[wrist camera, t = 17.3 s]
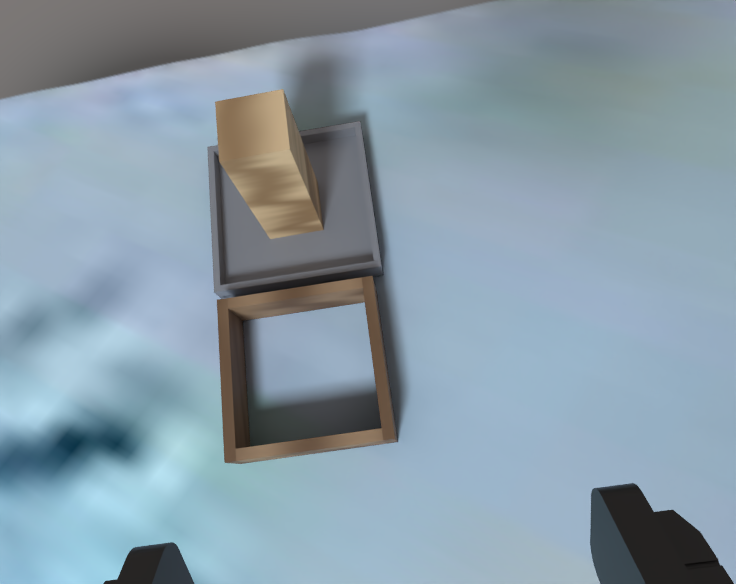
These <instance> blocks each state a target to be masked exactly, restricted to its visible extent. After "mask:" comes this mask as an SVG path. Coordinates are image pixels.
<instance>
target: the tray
mask: <svg viewBox="0 0 736 584" xmlns="http://www.w3.org/2000/svg"><path fill="white" fill-rule="evenodd" d="M299 133H300V136H301V139H302V141H303V144H304V147H305V150H306V152H307V155H308V158H309V160H310V163H311V166H312V168H313V171H314V174H315V177H316V179H317V182H318V190H319V197H320V205H321V213H322V221H323V229H324V230H321V231H315V232H309V233H303V234H297V235H291V236H286V237H280V238H274V239H270V238H269V237H268V235H267V234H266V232H265V230H264V229H263V227H262V226H261V224H260V223H259V221H258V220H257V218H256V217H255V215H254V214H253V212H252V211H251V209H250V208H249V206H248V205H247V203H246V202H245V200H244V199H243V197H242V196H241V194H240V192H239V191H238V189H237V188H236V186H235V185H234V183H233V182H232V180H231V179H230V177H229V176H228V174H227V173H226V171H225V170H224V168H223V167H222V165H221V164H220V162H219V150H218V145H216V146H210V147H208V167H209V189H210V211H211V233H212V255H213V277H214V293H216V294H217V295H218V296H219V297H220V298H221V299H226V298H232V297H239V296H245V295H252V294H258V293H264V292H271V291H277V290H284V289H290V288H297V287H303V286H310V285H316V284H322V283H329V282H335V281H342V280H348V279H355V278H361V277H367V276H373V277H374V276H380V275H383V270H382V263H381V257H380V250H379V243H378V236H377V229H376V222H375V215H374V209H373V202H372V195H371V188H370V181H369V174H368V168H367V161H366V154H365V147H364V140H363V134H362V128H361V123H360V121H357V122H351V123H345V124H340V125H334V126H328V127H322V128H316V129H310V130H304V131H299Z"/></svg>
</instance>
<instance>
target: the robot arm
mask: <svg viewBox="0 0 736 584" xmlns="http://www.w3.org/2000/svg"><path fill="white" fill-rule="evenodd" d="M590 545H591V553H592V558H593V563H594V566H595V570H596V573H597V576H598V578H599V581H600V583H601V584H734V583H733V581H732V580H731V578H730V577H729V575H728V574H727V572H726V571H725V569H724V568H723V566H722V565H721V566H720V564H719V562H718V559H717V557H716V555H715V554H714V552H713V551H712V549H711V548H710V546H709V545H708V543H707V542H706V540H705V539H704V537H703V536H702V534H701V533H700V531H698V530H697V529H696V528H695V527H693V526H692V525H691V524H690V523H688V522H687V521H686V520H685V519H684V518H682V517H681V516H680V515H679V514H677V513H676V512H675V511H674V510H667V511H659V512H653V510H652V508H651V506H650V505H649V503H648V501H647V500H646V498H645V496H644V495H643V493H642V491H641V490H640V488H639V487H638V486H637V485H636V484H634V483H631V484H624V485H616V486H609V487H601V488H594V489H593V490H592V493H591V535H590ZM104 584H194V582H193V580H192V577H191V575H190V573H189V571H188V569H187V566H186V564H185V562H184V560H183V557H182V555H181V553H180V551H179V549H178V547H177V545H176V544H175V543H172V542H171V543H164V544H156V545H149V546H141V547H135V548H133V549H132V550H131V551H130V552H129V554H128V556H127V558H126V560H125V562H124V565H123V567H122V570H121V572H120V575H119V577H118V579H117V580H110V581H105V582H104Z"/></svg>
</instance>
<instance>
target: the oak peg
mask: <svg viewBox="0 0 736 584" xmlns="http://www.w3.org/2000/svg"><path fill="white" fill-rule="evenodd" d="M215 105H216V120H217V135H218V150H219V162H220V164H221V165H222V167H223V168H224V170H225V171H226V173H227V174H228V176H229V177H230V179H231V180H232V182H233V183H234V185H235V186H236V188H237V189H238V191H239V192H240V194H241V196H242V197H243V199H244V200H245V202H246V203H247V205H248V206H249V208H250V209H251V211H252V212H253V214H254V215H255V217H256V218H257V220H258V221H259V223H260V224H261V226H262V227H263V229H264V230H265V232H266V234H267V235H268V237H269V238H270V239H274V238H280V237H286V236H291V235H297V234H303V233H309V232H315V231H321V230H324V229H323V221H322V213H321V205H320V197H319V190H318V182H317V179H316V177H315V174H314V171H313V168H312V166H311V163H310V160H309V158H308V155H307V152H306V150H305V147H304V144H303V141H302V139H301V136H300V133H299V131H298V128H297V125H296V123H295V120H294V117H293V115H292V112H291V109H290V106H289V104H288V101H287V98H286V96H285V93H284V90H283V89H282V90H276V91H271V92H265V93H260V94H255V95H249V96H244V97H238V98H233V99H228V100H222V101H217V102H215Z"/></svg>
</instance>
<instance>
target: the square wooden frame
mask: <svg viewBox="0 0 736 584" xmlns="http://www.w3.org/2000/svg"><path fill="white" fill-rule="evenodd" d="M363 302H365V307H366V315H367V322H368V330H369V337H370V345H371V352H372V360H373V367H374V375H375V382H376V390H377V397H378V405H379V412H380V420H381V427H382V428H379V429H372V430H365V431H358V432H351V433H344V434H337V435H330V436H323V437H316V438H309V439H301V440H294V441H287V442H280V443H273V444H266V445H259V446H252V447H250V433H249V416H248V400H247V384H246V367H245V351H244V334H243V321H245V320H252V319H259V318H265V317H272V316H278V315H285V314H291V313H298V312H304V311H311V310H317V309H324V308H330V307H337V306H343V305H350V304H357V303H363ZM217 311H218V332H219V353H220V375H221V396H222V418H223V439H224V460H225V463H236V464H243V463H250V462H257V461H265V460H272V459H279V458H286V457H293V456H300V455H308V454H315V453H322V452H329V451H336V450H343V449H351V448H358V447H365V446H372V445H379V444H386V443H394V442H398V440H397V433H396V426H395V419H394V412H393V404H392V397H391V390H390V383H389V376H388V369H387V362H386V355H385V348H384V341H383V333H382V326H381V319H380V312H379V305H378V298H377V291H376V287H375V283H374V280H373V276H367V277H361V278H355V279H348V280H342V281H335V282H329V283H322V284H316V285H310V286H303V287H297V288H290V289H284V290H277V291H271V292H264V293H258V294H252V295H245V296H239V297H232V298H226V299H219V300H217Z"/></svg>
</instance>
